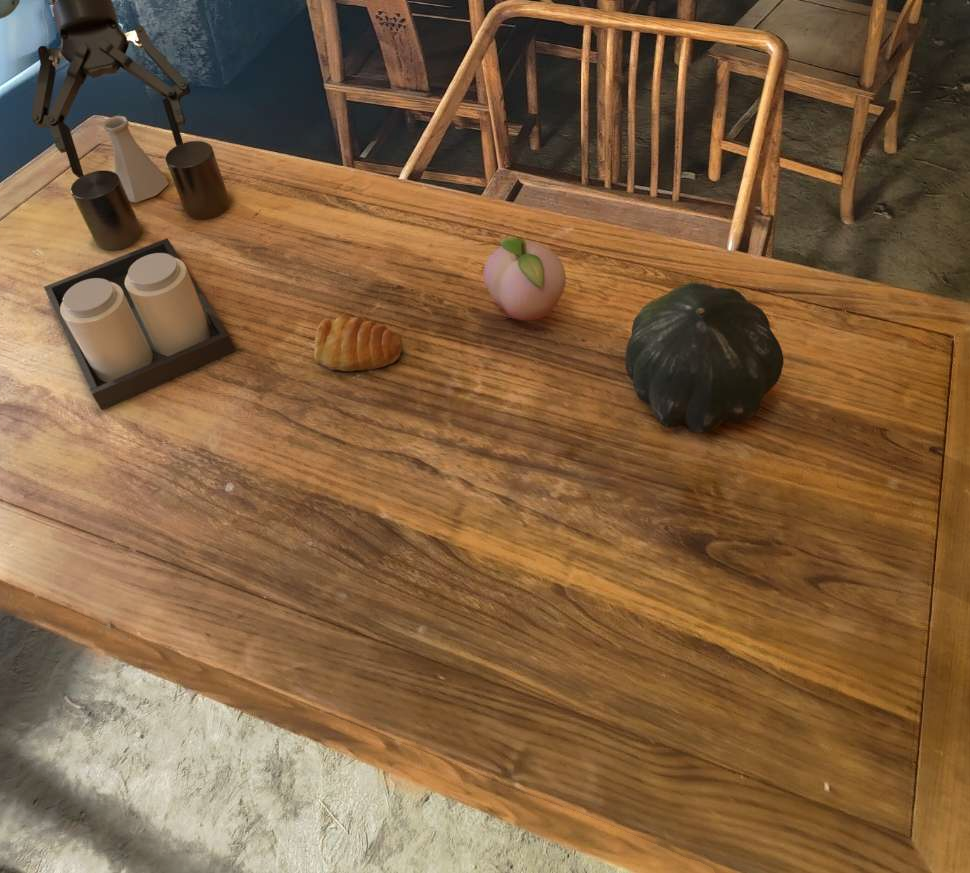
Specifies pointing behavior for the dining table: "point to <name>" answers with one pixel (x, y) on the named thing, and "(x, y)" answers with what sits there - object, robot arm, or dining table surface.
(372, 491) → the dining table surface
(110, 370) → the cylinder
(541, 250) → the decorative fruit
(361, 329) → the pastry
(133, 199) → the flask
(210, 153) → the dark brown cylinder
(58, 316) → the black tray
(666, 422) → the squash
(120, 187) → the dark brown cylinder
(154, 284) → the white shaker
